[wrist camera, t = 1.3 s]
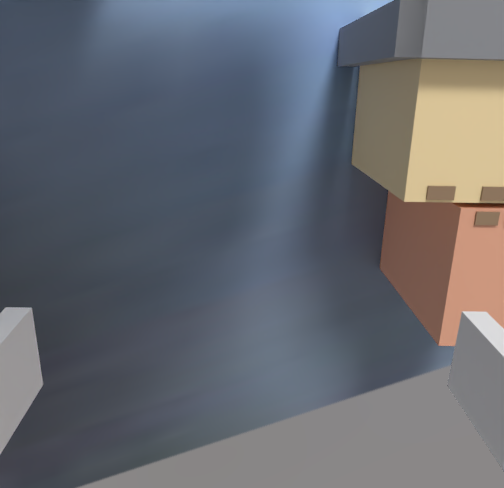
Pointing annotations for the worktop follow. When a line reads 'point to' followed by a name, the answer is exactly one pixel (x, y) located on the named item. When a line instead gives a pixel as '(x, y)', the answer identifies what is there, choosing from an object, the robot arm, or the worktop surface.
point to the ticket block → (430, 98)
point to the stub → (445, 261)
